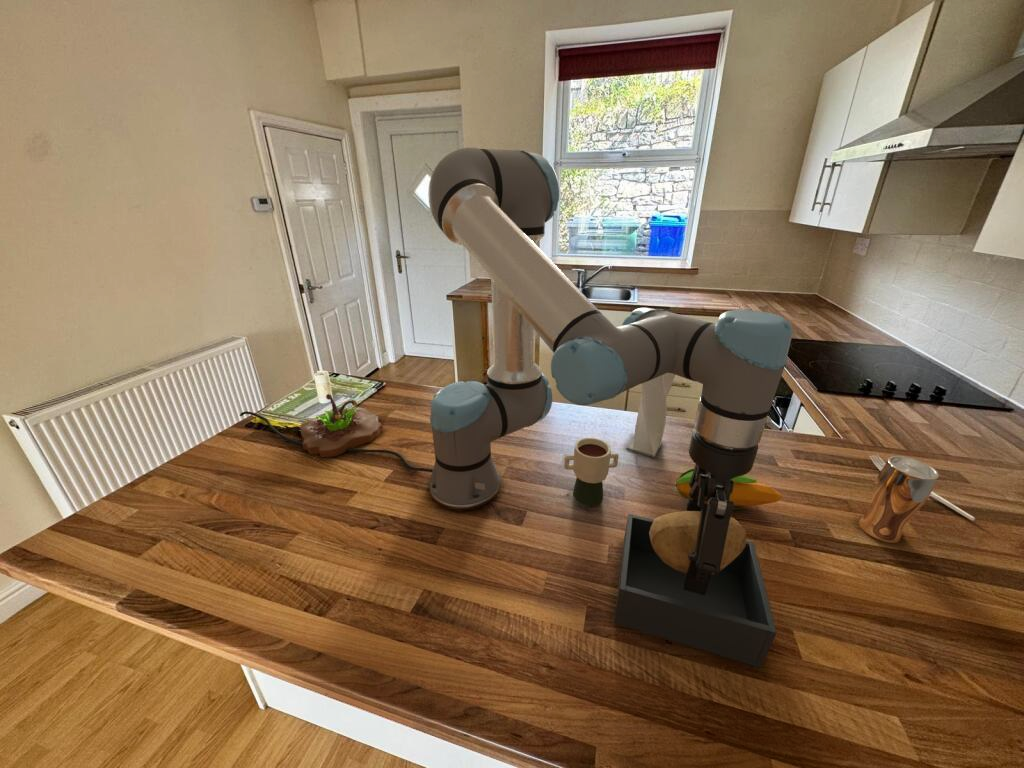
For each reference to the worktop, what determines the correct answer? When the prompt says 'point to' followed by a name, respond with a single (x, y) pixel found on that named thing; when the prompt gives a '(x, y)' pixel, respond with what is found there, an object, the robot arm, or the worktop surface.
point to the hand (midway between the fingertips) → (692, 560)
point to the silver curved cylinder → (897, 497)
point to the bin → (694, 601)
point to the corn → (737, 491)
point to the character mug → (590, 469)
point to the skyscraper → (651, 416)
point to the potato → (690, 539)
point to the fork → (881, 464)
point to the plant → (339, 430)
